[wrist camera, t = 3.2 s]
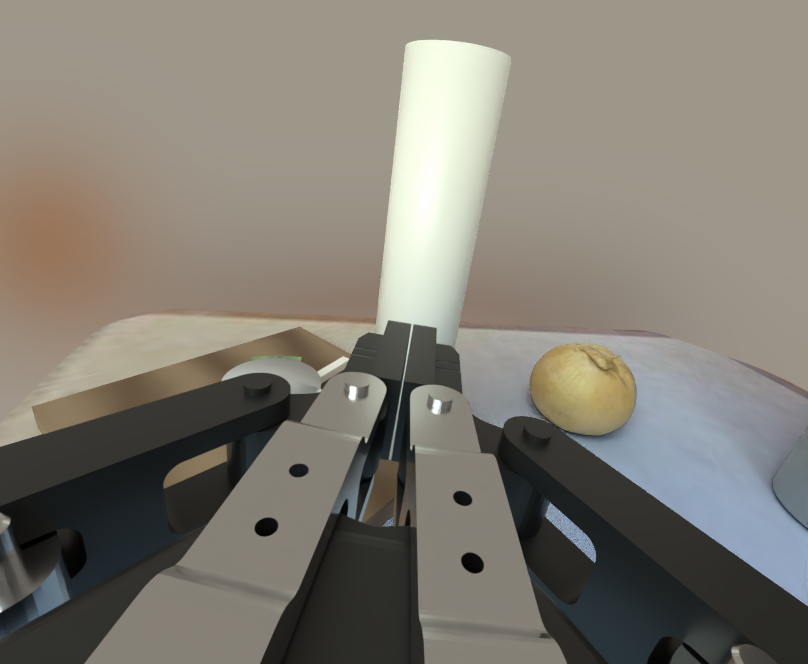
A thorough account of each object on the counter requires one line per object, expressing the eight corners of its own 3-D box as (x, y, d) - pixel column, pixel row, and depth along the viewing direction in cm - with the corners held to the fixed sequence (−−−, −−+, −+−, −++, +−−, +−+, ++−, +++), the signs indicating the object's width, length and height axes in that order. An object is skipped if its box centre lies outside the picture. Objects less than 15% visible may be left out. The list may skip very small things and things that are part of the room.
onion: (502, 401, 35) (522, 325, 32) (564, 384, 39) (586, 316, 36) (579, 462, 29) (612, 376, 26) (642, 435, 33) (677, 358, 30)
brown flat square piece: (299, 340, 40) (299, 325, 40) (475, 441, 30) (480, 422, 29) (37, 426, 26) (31, 405, 25) (201, 688, 15) (197, 662, 14)
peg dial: (333, 358, 34) (350, 78, 26) (474, 438, 27) (562, 85, 19) (203, 409, 26) (169, 27, 18) (356, 544, 19) (417, 4, 11)
